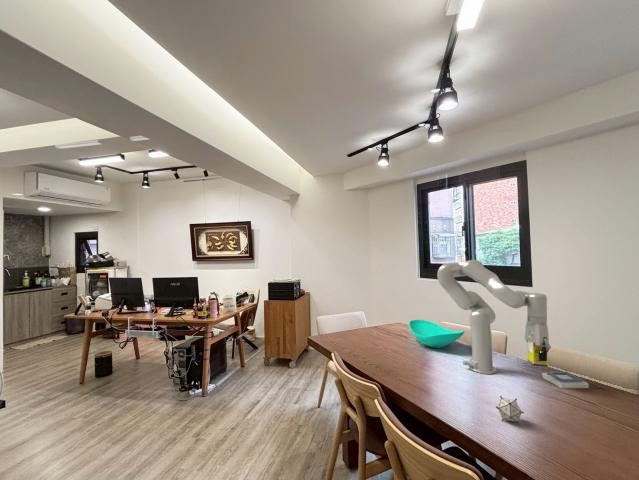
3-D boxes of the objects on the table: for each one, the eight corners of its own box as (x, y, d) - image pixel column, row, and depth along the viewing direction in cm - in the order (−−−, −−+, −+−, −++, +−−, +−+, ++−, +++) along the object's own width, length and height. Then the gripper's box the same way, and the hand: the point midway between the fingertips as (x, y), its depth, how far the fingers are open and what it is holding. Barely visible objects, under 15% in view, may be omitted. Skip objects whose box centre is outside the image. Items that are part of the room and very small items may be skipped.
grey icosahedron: (503, 429, 112) (486, 401, 117) (523, 419, 112) (505, 392, 118) (513, 429, 104) (494, 399, 109) (535, 419, 105) (514, 389, 110)
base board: (561, 388, 136) (561, 380, 136) (542, 377, 148) (542, 370, 148) (588, 388, 136) (588, 380, 136) (567, 377, 148) (566, 370, 148)
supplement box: (547, 366, 139) (547, 342, 139) (533, 365, 140) (533, 342, 140) (541, 362, 144) (541, 339, 145) (527, 360, 146) (527, 338, 146)
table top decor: (476, 351, 186) (476, 330, 187) (443, 358, 175) (442, 335, 175) (429, 336, 222) (428, 317, 223) (399, 341, 211) (398, 321, 212)
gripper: (517, 315, 151) (517, 351, 151) (542, 324, 134) (542, 365, 134) (532, 315, 151) (532, 351, 151) (559, 324, 134) (559, 365, 133)
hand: (537, 357), depth 142 cm, fingers closed on supplement box, 6 cm apart
